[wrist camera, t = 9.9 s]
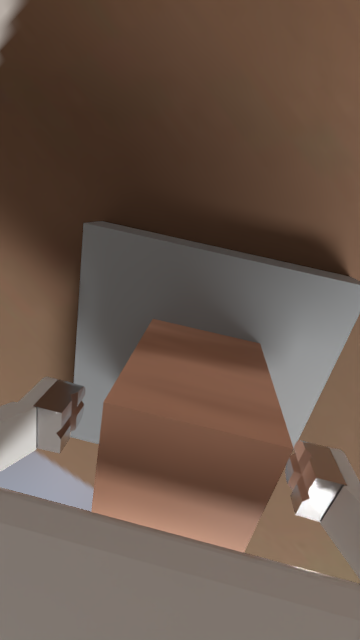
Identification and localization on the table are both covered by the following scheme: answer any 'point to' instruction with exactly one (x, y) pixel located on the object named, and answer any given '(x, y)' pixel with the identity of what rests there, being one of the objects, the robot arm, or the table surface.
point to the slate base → (206, 312)
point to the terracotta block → (191, 437)
